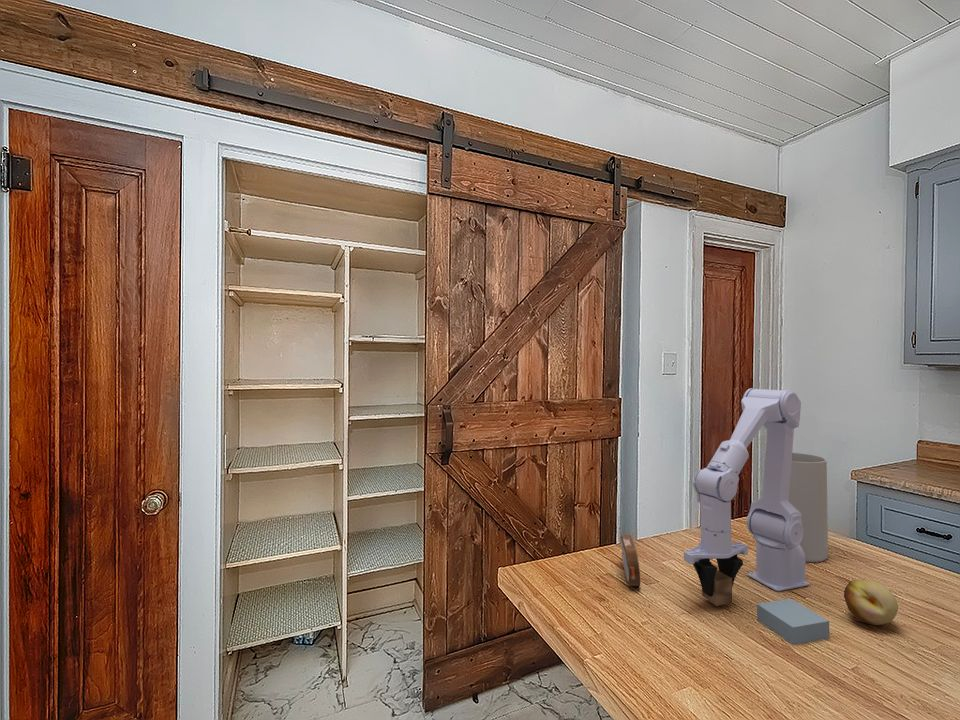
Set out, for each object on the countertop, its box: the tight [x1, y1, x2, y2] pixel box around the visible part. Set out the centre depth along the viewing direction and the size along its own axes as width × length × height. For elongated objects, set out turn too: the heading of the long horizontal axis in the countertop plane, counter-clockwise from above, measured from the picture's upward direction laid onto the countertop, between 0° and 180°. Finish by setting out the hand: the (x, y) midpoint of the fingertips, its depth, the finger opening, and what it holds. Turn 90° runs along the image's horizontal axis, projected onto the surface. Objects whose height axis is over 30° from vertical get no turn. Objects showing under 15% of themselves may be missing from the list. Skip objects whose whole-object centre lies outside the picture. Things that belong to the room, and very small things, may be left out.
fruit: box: [843, 579, 899, 626], centre depth 87 cm, size 8×8×8 cm
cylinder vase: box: [769, 452, 829, 563], centre depth 119 cm, size 12×12×25 cm
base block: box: [756, 598, 830, 646], centre depth 86 cm, size 8×8×4 cm
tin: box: [620, 534, 641, 587], centre depth 107 cm, size 15×3×8 cm, turn 168°
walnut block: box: [701, 569, 733, 607], centre depth 95 cm, size 4×4×5 cm
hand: (716, 592), depth 95 cm, fingers closed on walnut block, 4 cm apart
